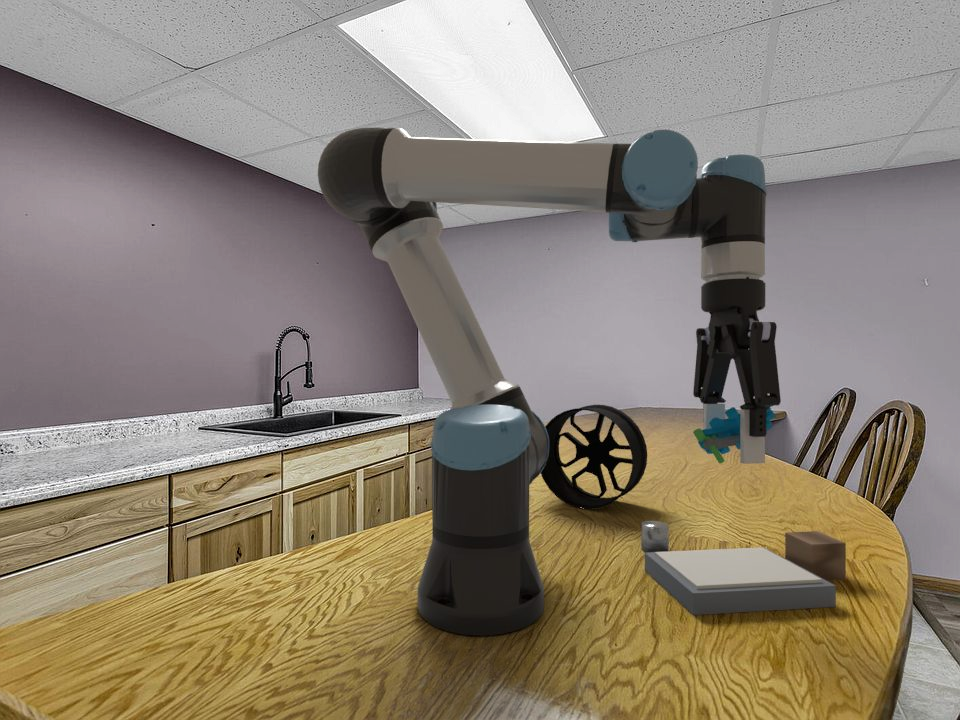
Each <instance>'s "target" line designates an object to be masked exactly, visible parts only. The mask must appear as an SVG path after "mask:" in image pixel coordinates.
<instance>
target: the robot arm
mask: <svg viewBox="0 0 960 720" xmlns="http://www.w3.org/2000/svg"><path fill="white" fill-rule="evenodd" d="M698 159H699V158H698V154H697V151H696V148H695V147H694V144H693V143H692V142H691V141H690V140H689V139H688V138H687V137H686V136H685V135H683V134H682V133H679V132H678V131H675V130H672V129H656V130H652V131H650V132H648V133H645V134H644V135H642V136H640V137H638V138H637V139H636V140H635V141H634V142H633V143H612V142H611V143H609V142H606V143H603V142H580V141H579V142H577V141H576V142H575V141H572V142H571V141H547V140H545V141H544V140H543V141H542V140H541V141H537V140H509V139H503V140H502V139H479V138H477V139H475V138H474V139H473V138H472V139H471V138H448V137H447V138H444V137H415V136H414V137H411V136H410V135H409V134H408V132H407V131H406V130H405V129H403V128H400V127H360V128H354V129H350V130H346V131H344V132H342V133H340V134H338V135H337V136H335V137H333V139H331V140H330V141H329V143H327V145H326V146H325V147H324V149H323V151H322V152H321V155H320V158H319V162H318V165H317V166H318V167H317V180H318V185H319V188H320V191H321V193H322V195H323V197H324V199H325V201H326V202H327V204H328V205H329V206H330V207H331V208H332V209H333V210H335V212H337V213H338V214H340V215H342V216H343V217H345V218H346V219H348V220H350V221H352V222H354V223H355V224H358V226H359V227H360V229H361V231H362V233H363V235H364V237H365V240H366V241H367V245H369V248H370V251H371V253H372V255H373V256H374V257H375V258H376V259H378V260H379V261H384V262H386V263H387V264H388V266H389V268H390V270H391V272H392V274H393V277H394V279H395V281H396V283H397V286H398V288H399V290H400V292H401V295H402V296H403V299H404V301H405V303H406V305H407V307H408V310H409V311H410V313H411V316H412V319H413V320H414V323H415V325H416V327H417V329H418V331H419V335H420V336H421V339H422V340H423V343H424V345H425V347H426V349H427V352H428V353H429V356H430V358H431V360H432V362H433V364H434V366H435V368H436V371H437V373H438V375H439V377H440V381H441V382H442V385H443V386H444V389H445V390H446V393H447V395H448V397H449V399H450V402H451V407H450V409H448V410H445V411H443V412H442V413H440V414H439V415H437V417H436V418H435V420H434V421H433V426H432V437H431V442H430V451H431V472H432V473H431V480H432V481H431V488H432V489H431V491H432V493H431V500H432V501H431V502H432V503H431V508H432V509H431V511H432V515H431V516H432V517H431V518H432V520H431V522H432V527H431V528H432V529H431V530H432V535H431V536H432V540H431V544H430V547H429V550H428V553H427V555H426V556H427V557H426V560H425V563H424V567H423V569H422V573H421V576H420V579H419V581H418V585H417V586H418V587H417V611H418V613H419V614H420V615H419V616H421V618H423V619H424V620H425V621H426V622H427V623H428V624H430V625H432V626H434V627H436V628H437V629H441V630H443V631H446V632H450V633H455V634H458V635H459V634H460V635H465V636H466V635H468V636H495V635H503V634H508V633H513V632H516V631H518V630H522V629H524V628H527V627H528V626H530V625H531V624H534V623H535V622H536V621H537V620H538V619H539V618H540V617H541V616H542V615H543V612H544V608H545V590H544V584H543V581H542V577H541V574H540V571H539V567H538V564H537V561H536V558H535V555H534V551H533V549H532V546H531V545H532V544H531V542H530V485H531V484H532V483H533V481H534V480H535V479H537V478H538V477H539V476H540V475H541V472H542V470H543V469H544V467H545V465H546V462H547V458H548V455H549V437H548V433H547V430H546V428H545V426H546V425H545V424H544V422H543V421H542V419H541V418H540V417H539V416H538V415H537V414H536V413H535V412H534V411H533V410H532V409H531V407H530V405H529V403H528V401H527V399H526V396H525V395H524V392H523V390H522V388H521V386H520V385H519V384H518V383H515V382H512V381H510V380H508V379H506V378H505V376H504V374H503V373H502V370H501V367H500V366H499V364H498V361H497V359H496V357H495V355H494V354H493V351H492V349H491V347H490V346H489V345H490V344H489V343H488V340H487V338H486V336H485V334H484V332H483V330H482V328H481V326H480V323H479V321H478V319H477V317H476V315H475V313H474V311H473V309H472V307H471V304H470V303H469V300H468V298H467V296H466V293H465V292H464V290H463V287H462V286H461V283H460V281H459V280H458V277H457V275H456V273H455V271H454V268H453V266H452V264H451V261H450V259H449V258H448V256H447V254H446V252H445V250H444V249H445V248H444V247H443V244H442V243H441V241H440V238H441V237H440V236H441V235H442V232H443V228H444V225H443V221H442V220H441V218H440V215H439V213H438V206H437V205H438V204H437V203H439V204H441V203H446V204H459V205H461V204H462V205H476V206H493V207H494V206H495V207H513V208H527V209H528V208H529V209H546V210H547V209H549V210H562V211H563V210H564V211H565V210H567V211H582V212H583V211H585V212H597V213H598V212H600V213H608V235H609V238H610V239H611V240H613V241H614V242H632V243H638V242H644V241H659V240H660V241H661V240H662V241H663V240H670V239H671V240H675V239H694V238H700V240H701V249H700V254H701V255H700V257H701V258H700V265H701V266H700V270H701V271H700V277H701V278H700V279H702V280H703V281H705V283H703V284H702V285H701V287H700V292H701V293H700V294H701V295H700V299H701V300H700V305H701V307H700V308H701V311H702V312H705V313H709V315H710V317H709V318H710V319H709V323H708V326H706V328H705V327H703V328H702V327H701V328H700V327H699V328H696V331H695V338H696V343H697V346H696V356H695V368H694V369H695V370H694V378H693V379H694V380H693V381H694V382H693V391H692V392H693V393H692V394H693V397H694V398H698V399H699V400H700V402H701V403H702V407H703V408H702V410H703V411H702V413H703V414H702V416H703V417H702V422H703V429H702V430H704V429H711V426H710V424H709V422H710V421H711V420H712V419H713V418H716V417H717V418H719V419H726V414H725V412H726V401H727V400H726V399H725V398H724V397H723V393H724V389H725V385H726V381H727V377H728V373H729V370H730V364H731V361H732V360H733V361H734V365H735V368H736V369H735V370H736V373H737V377H738V381H739V382H738V383H739V384H740V389H741V393H742V397H743V402H744V404H741V405H740V406H739V408H740V413H739V414H740V449H739V451H740V453H739V454H740V455H739V456H740V458H739V460H740V461H739V462H740V463H741V464H743V465H744V464H746V465H747V464H751V465H752V464H766V435H767V430H766V413H767V409H769V408H771V407H773V406H780V404H781V402H782V401H781V391H780V382H779V381H780V380H779V372H778V362H777V361H778V360H777V353H776V351H777V350H776V343H775V341H776V335H777V323H776V322H775V321H760V319H759V317H758V311H762V310H764V308H765V307H766V282H765V281H764V280H762V279H760V278H762V277H764V276H765V274H766V253H765V251H766V248H765V247H766V245H765V244H766V204H767V203H766V198H767V195H768V192H767V189H766V187H767V186H766V174H765V165H764V163H763V161H762V160H761V159H760V158H759V157H757V156H755V155H750V154H731V155H727V156H724V157H718V158H714V159H713V160H711V161H709V162H707V163H706V164H704V166H703V167H702V169H701V174H700V176H699V177H698V175H697V174H698V168H699V165H698V164H699V162H698ZM697 177H698V178H697ZM702 451H703V452H705V453H707V452H706V451H705V449H702ZM718 451H719V450H718Z"/></svg>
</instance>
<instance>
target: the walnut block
mask: <svg viewBox="0 0 960 720" xmlns="http://www.w3.org/2000/svg"><path fill="white" fill-rule="evenodd" d="M784 535H785V536H784V537H785V538H784V540H785V541H784V545H785V547H784V548H785V549H784V550H785V551H784V555H785V557H784V558H785V559H787V560H789V561H791V562H793V563H794V564H796V565H798V566H800V567H802V568H804V569H806V570H808V571H809V572H811V573H813V574H815V575H817V576H819V577H821V578H822V579H824V580H826V581H828V582H830V581H846V579H847V577H846V574H847V572H846V571H847V570H846V567H847V565H846V564H847V563H846V560H847V559H846V558H847V557H846V554H847V553H846V551H847V550H846V546H847V545H846V542H844V541H843V540H839V539H837V538H835V537H832V536H830V535H828V534H825V533H823V532H820V531H818V530H816V531H815V530H814V531H811V530H810V531H794V532H793V531H791V532H790V531H789V532H788V531H786V532H784Z"/></svg>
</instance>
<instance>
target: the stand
mask: <svg viewBox="0 0 960 720" xmlns="http://www.w3.org/2000/svg"><path fill="white" fill-rule="evenodd" d="M644 571H645V572H646V573H647V574H648V575H649V576H650V577H651V578H652V579H654V580H655V582H657V584H658V585H660V586H661V587H662V588H663V589H664V590H665V591H666V592H668V593H669V595H671V597H673V598H674V599H675V600H676V601H677V602H679V603H680V604H681V605H682V606H683V607H684V608H685V609H686V611H688V612H689V613H690V614H691V615H692V616H701V615H714V614H715V615H716V614H734V613H750V612H751V613H753V612H764V611H765V612H766V611H767V612H769V611H771V612H772V611H784V610H801V609H819V608H833V607H834V608H836V607H837V603H836V602H837V599H836V598H837V593H836V592H837V589H836V588H837V587H836V585H835V584H833V583H831V582H830V581H826V580H824V579H822V578H821V577H819V576H817V575H815V574H813V573H811V572H809V571H808V570H806V569H804V568H802V567H800V566H798V565H796V564H794V563H793V562H791V561H789V560H787V559H785V557H783V556H781V555H779V554H777V553H776V552H774V551H772V550H770V549H769V548H766V547H738V548H736V547H735V548H718V549H694V550H672V551H667V552H648V553H645V552H644Z"/></svg>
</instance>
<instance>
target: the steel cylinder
mask: <svg viewBox="0 0 960 720" xmlns="http://www.w3.org/2000/svg"><path fill="white" fill-rule="evenodd" d="M640 526H641V529H640V531H641V535H640V536H641V546H640V547H641V551H642V552H643V553H644V554H645V553H648V552H667V551H669V550H670V549H669V545H670V544H669V542H670V541H669V531H670V530H669V524H667V523H665V522H663V521H659V520H658V521H657V520H645V521H642V522H641V525H640Z"/></svg>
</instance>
